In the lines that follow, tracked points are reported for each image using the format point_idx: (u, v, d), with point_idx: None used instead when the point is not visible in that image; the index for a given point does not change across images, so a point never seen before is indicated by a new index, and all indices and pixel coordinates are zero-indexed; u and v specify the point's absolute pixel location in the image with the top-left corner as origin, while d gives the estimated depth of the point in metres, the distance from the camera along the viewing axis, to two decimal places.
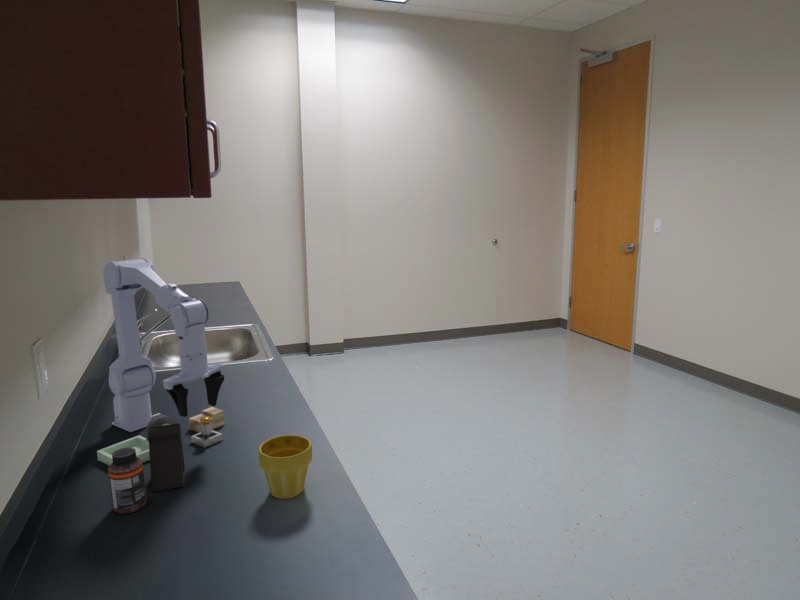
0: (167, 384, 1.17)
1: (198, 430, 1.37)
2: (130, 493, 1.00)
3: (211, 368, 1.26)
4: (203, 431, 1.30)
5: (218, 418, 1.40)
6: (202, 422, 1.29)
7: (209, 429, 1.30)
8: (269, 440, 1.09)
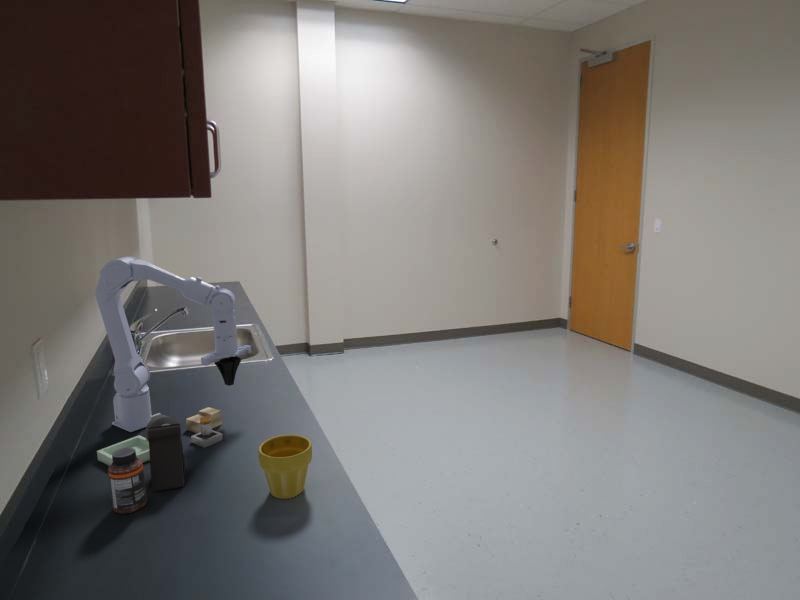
0: (204, 361, 1.37)
1: (196, 430, 1.36)
2: (130, 493, 1.00)
3: (240, 348, 1.46)
4: (203, 431, 1.30)
5: (215, 418, 1.40)
6: (202, 422, 1.29)
7: (209, 429, 1.30)
8: (269, 440, 1.09)
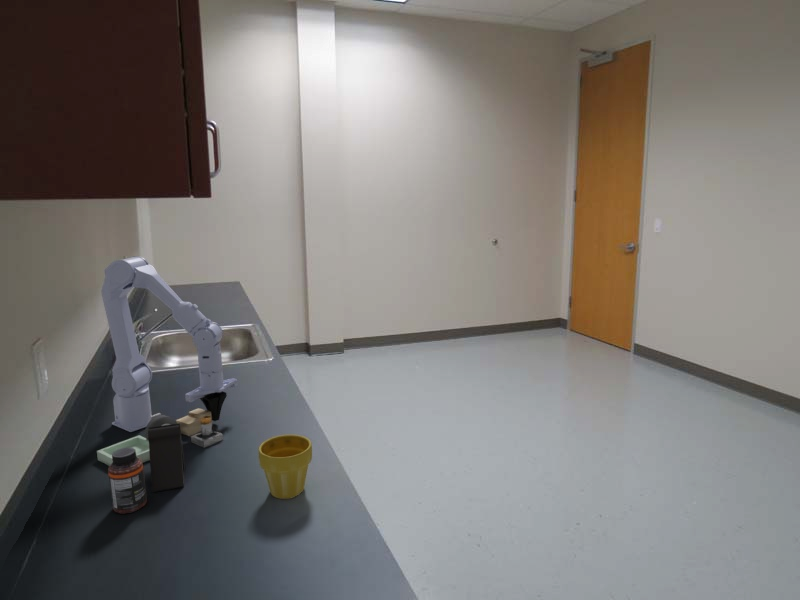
0: (189, 397, 1.34)
1: (186, 432, 1.35)
2: (130, 493, 1.00)
3: (226, 382, 1.43)
4: (203, 431, 1.30)
5: None
6: (202, 422, 1.29)
7: (209, 429, 1.30)
8: (269, 440, 1.09)
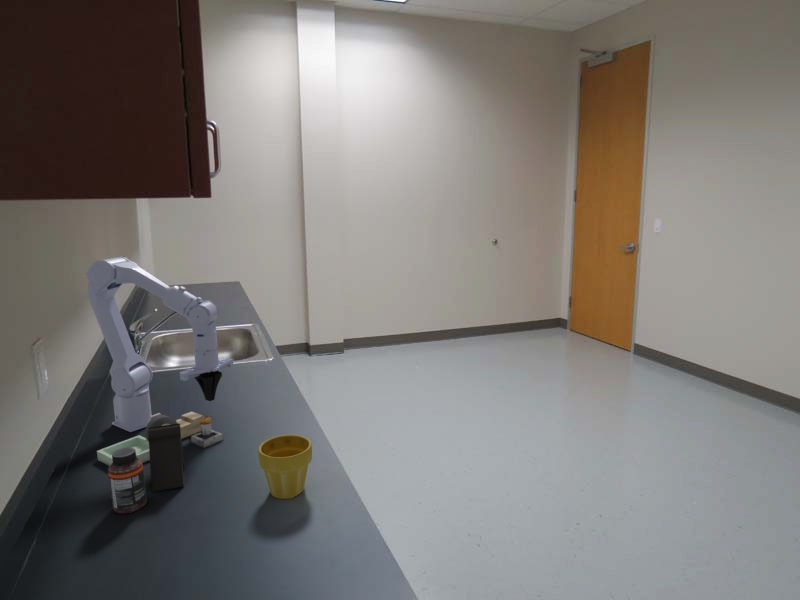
0: (183, 376, 1.32)
1: None
2: (130, 493, 1.00)
3: (221, 362, 1.42)
4: (203, 431, 1.30)
5: (198, 423, 1.37)
6: (202, 422, 1.29)
7: (209, 429, 1.30)
8: (269, 440, 1.09)
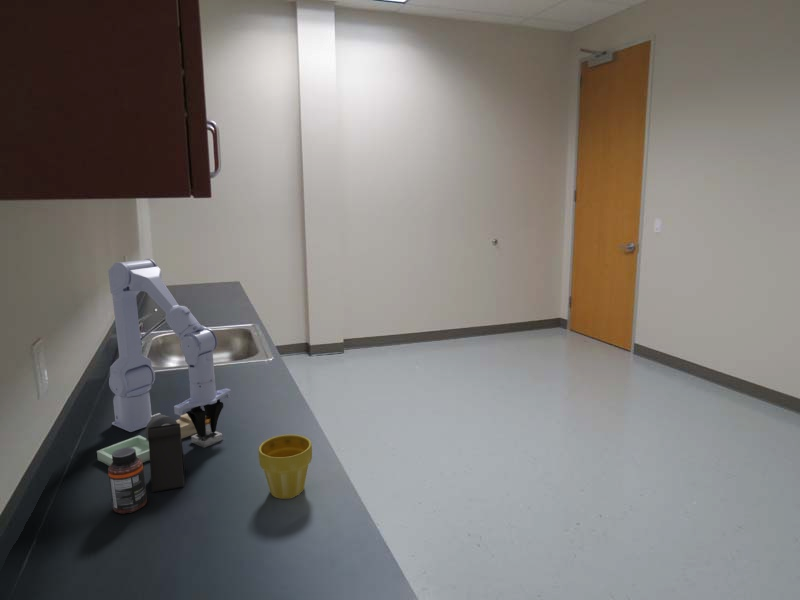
0: (178, 410, 1.23)
1: None
2: (130, 493, 1.00)
3: (219, 393, 1.33)
4: None
5: None
6: None
7: (209, 429, 1.30)
8: (269, 440, 1.09)
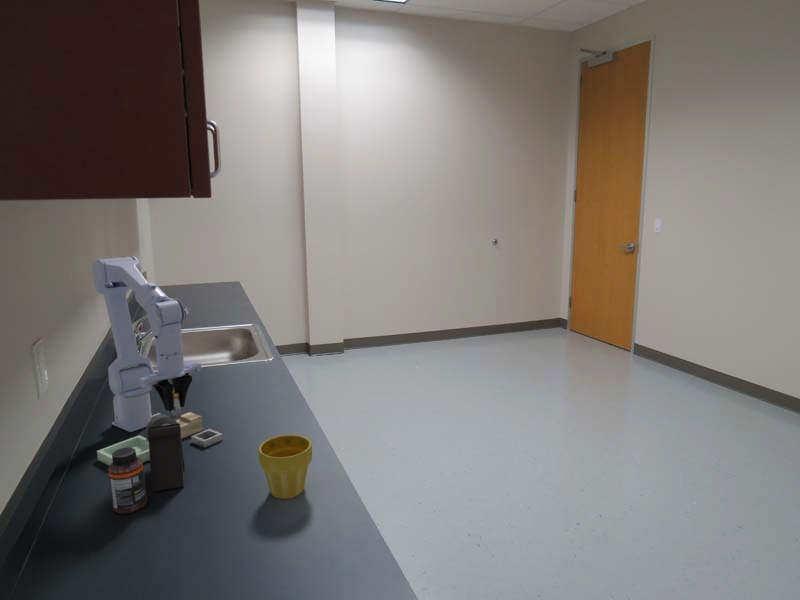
0: (143, 382, 1.19)
1: None
2: (130, 493, 1.00)
3: (188, 367, 1.28)
4: None
5: (196, 424, 1.36)
6: None
7: (178, 404, 1.26)
8: (269, 440, 1.09)
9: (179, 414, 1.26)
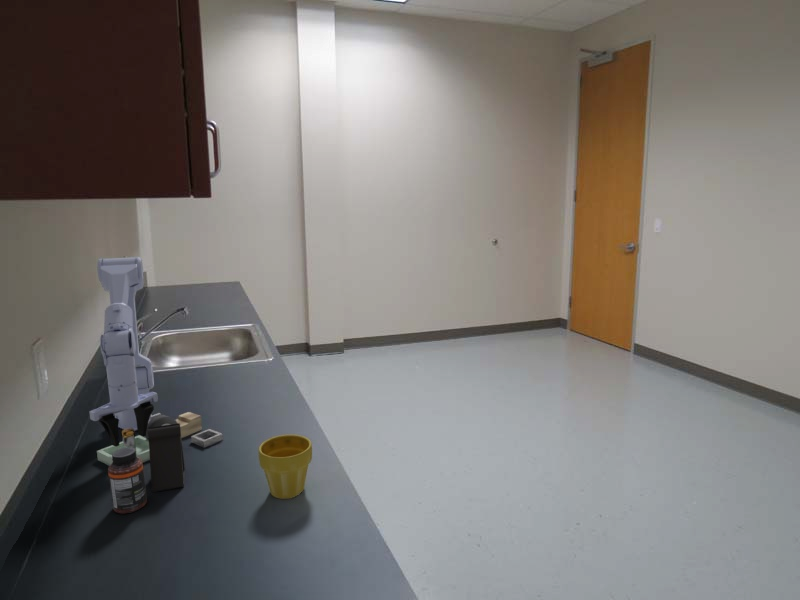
0: (93, 415, 1.15)
1: None
2: (130, 493, 1.00)
3: (143, 397, 1.25)
4: (126, 444, 1.22)
5: (195, 424, 1.37)
6: (124, 435, 1.21)
7: (132, 442, 1.22)
8: (269, 440, 1.09)
9: None
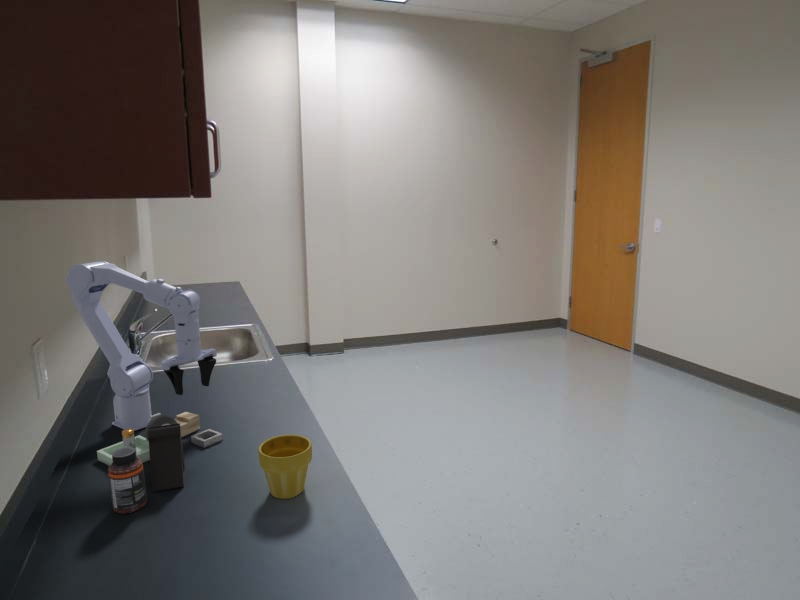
0: (165, 365, 1.31)
1: None
2: (130, 493, 1.00)
3: (204, 352, 1.41)
4: (126, 445, 1.22)
5: (193, 423, 1.37)
6: (124, 435, 1.21)
7: (133, 442, 1.22)
8: (269, 440, 1.09)
9: None
